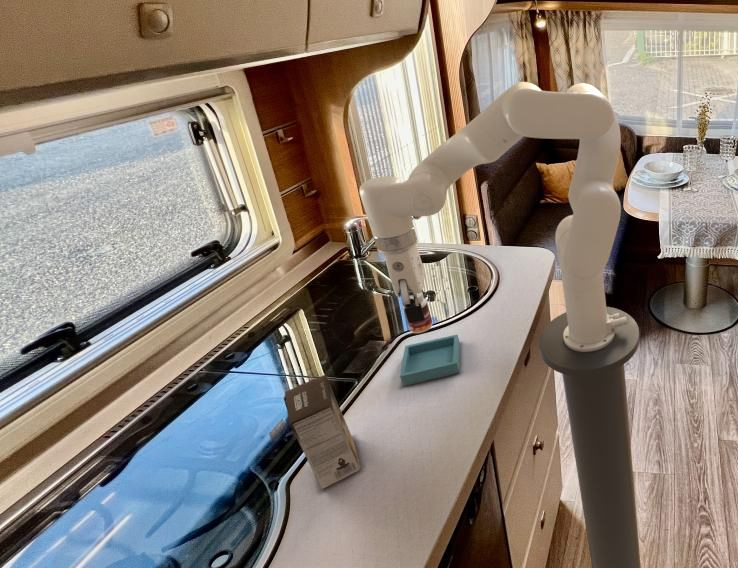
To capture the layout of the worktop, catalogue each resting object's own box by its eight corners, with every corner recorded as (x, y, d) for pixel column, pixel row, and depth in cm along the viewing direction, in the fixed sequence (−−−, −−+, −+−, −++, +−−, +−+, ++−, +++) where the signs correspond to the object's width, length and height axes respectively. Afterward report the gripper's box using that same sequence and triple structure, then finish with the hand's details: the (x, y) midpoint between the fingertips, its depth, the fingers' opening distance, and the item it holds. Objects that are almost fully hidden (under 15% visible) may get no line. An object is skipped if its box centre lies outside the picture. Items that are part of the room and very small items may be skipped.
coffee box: (315, 455, 92) (283, 390, 85) (353, 437, 95) (325, 372, 88) (321, 491, 85) (288, 423, 78) (362, 470, 88) (333, 403, 82)
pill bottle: (416, 336, 106) (406, 304, 102) (405, 328, 108) (395, 296, 105) (437, 325, 109) (428, 293, 105) (426, 317, 112) (417, 286, 108)
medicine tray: (459, 343, 119) (457, 334, 118) (459, 372, 110) (456, 363, 109) (408, 355, 116) (405, 345, 115) (403, 386, 107) (399, 376, 106)
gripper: (412, 254, 93) (434, 332, 101) (419, 218, 107) (438, 289, 115) (368, 261, 91) (394, 341, 99) (381, 224, 106) (403, 296, 113)
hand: (417, 312), depth 107 cm, fingers closed on pill bottle, 4 cm apart
